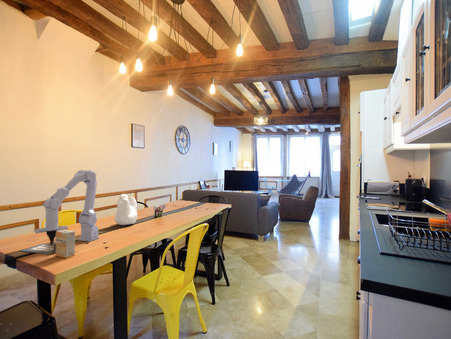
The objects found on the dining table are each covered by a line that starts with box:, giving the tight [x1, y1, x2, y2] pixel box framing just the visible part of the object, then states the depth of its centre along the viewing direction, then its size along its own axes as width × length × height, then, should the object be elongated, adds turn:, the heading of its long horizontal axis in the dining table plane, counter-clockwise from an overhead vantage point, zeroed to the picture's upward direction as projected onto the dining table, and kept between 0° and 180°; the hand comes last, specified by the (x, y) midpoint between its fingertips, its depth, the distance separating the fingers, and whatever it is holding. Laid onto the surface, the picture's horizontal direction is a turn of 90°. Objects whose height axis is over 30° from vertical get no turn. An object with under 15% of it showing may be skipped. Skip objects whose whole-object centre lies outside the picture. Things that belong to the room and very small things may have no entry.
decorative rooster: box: [114, 193, 139, 226], centre depth 197 cm, size 25×16×25 cm, turn 159°
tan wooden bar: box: [53, 236, 56, 250], centre depth 137 cm, size 18×4×5 cm, turn 39°
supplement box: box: [55, 229, 76, 259], centre depth 125 cm, size 8×5×13 cm, turn 69°
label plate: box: [21, 243, 56, 255], centre depth 134 cm, size 18×12×1 cm, turn 78°
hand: (51, 244), depth 134 cm, fingers closed
